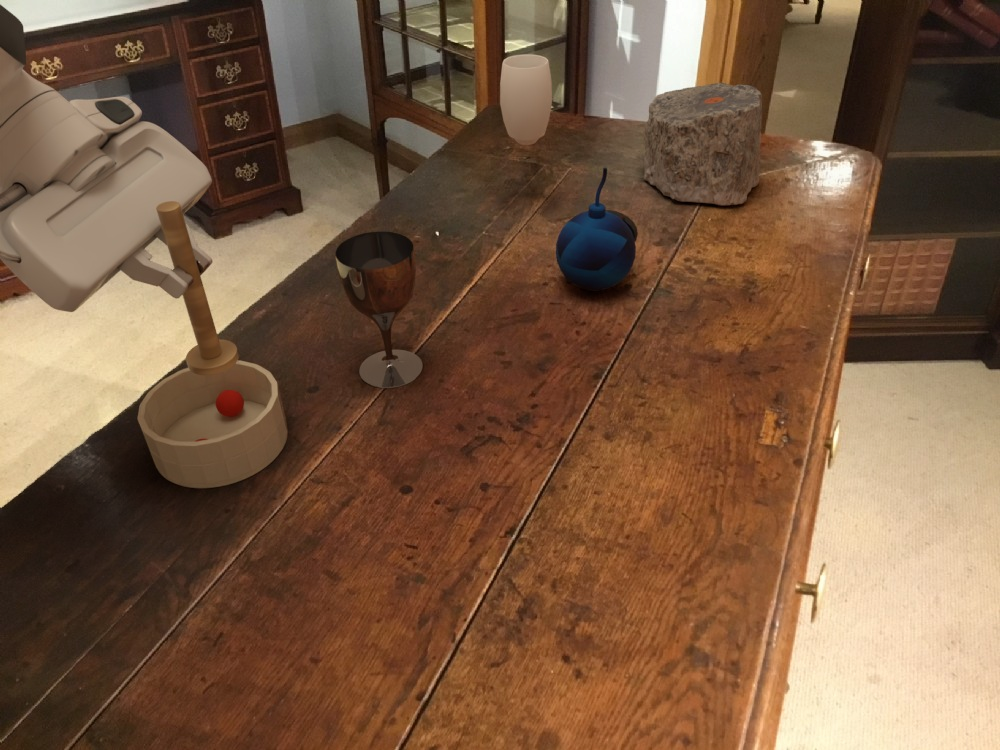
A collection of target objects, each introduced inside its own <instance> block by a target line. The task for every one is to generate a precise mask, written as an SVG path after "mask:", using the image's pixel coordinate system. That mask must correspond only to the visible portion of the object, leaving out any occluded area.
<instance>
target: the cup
mask: <svg viewBox="0 0 1000 750" xmlns="http://www.w3.org/2000/svg"><path fill="white" fill-rule="evenodd" d="M550 68H551V67H550V61H549V59H548V58H547V57H545V56H542V55H538V54H531V53H530V54H527V53H526V54H515V55H511V56H507V57H506V58H504V59H503V61H502V64H501V72H500V80H499V81H500V82H499V84H500V85H499V105H500V110H501V115H502V121H503V124H504V127H505V129H506V133H507V135H508V136H509V137H510V138H512V139H513V140H515V141H516V143H517V144H519V145H523V146H530V145H533V144H537V141H539V139H541V138H543V137H544V136H545V135H546V131H547V129H548V128H547V127H548V125H549V122H550V118H551V111H552V106H553V86H552V85H553V84H552V76H551V75H552V74H551V69H550Z"/></svg>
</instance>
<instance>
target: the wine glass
mask: <svg viewBox="0 0 1000 750" xmlns="http://www.w3.org/2000/svg"><path fill="white" fill-rule="evenodd" d="M335 263H336V269H337V272H338V278H339V280H340V283H341V286H342V289H343V291H344V294H345V296H346V299H347V300H348V301H349V303H350V305H351V306H352V307H353V308H354V309H355V310H357V312H359V313H361V314H362V315H364V316H365V317H366V318H368V319H370V320H371V321H373V323H375V324H376V326H377V327H378V329H379V332H380V335H381V338H382V343H383V346H384V350H382V351H379V352H376V353H374V354H372V355H370V356H368V357H367V358H365V360H363V362H361V364H360V365H359V369H358V373H359V377H360V379H361V380H362V381H363V382H364V383H365V384H367V385H369V386H372V387H375V388H381V389H393V388H399V387H402V386H403V387H404V386H405V385H408V384H410V383H412V382H413V381H415V380H416V379H418V377H419V376H420V375H422V372H423V369H424V363H423V361H422V359H421V357H420V356H418V355H417V354H416V353H414V352H412V351H408V350H406V349H405V350H404V349H393V346H392V345H393V344H392V329H393V328H392V327H393V325H394V322H395V320H396V318H397V317H398V315H400V313H401V312H402V311H403V310H404V309H405V308H406V307H407V305H408V304H409V302H410V301H411V299H412V297H413V294H414V289H415V284H416V270H417V268H416V254H415V246H414V243H413V242H412V240H411V239H410V238H409V237H407V236H406V235H403V234H401V233H398V232H392V231H369V232H363V233H360V234H357V235H356V234H355V235H354V236H351V237H349V238H347V239H345V240H344V241H342V242H341V243H340V244H339V245H338V247H336V250H335Z"/></svg>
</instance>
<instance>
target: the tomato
mask: <svg viewBox="0 0 1000 750" xmlns="http://www.w3.org/2000/svg"><path fill="white" fill-rule="evenodd" d="M243 407H244V400H243V397H242V396H241V394H240V393H238V392H237V391H234V390H226V391H223V392H222V393H220V394H219V395H218V397H217V399H216V408H217V410H218V412H219V413H220V414H222V415H223V416H226V417H233V416H236V415H238V414H239V413H240V412H241V411H242V409H243Z"/></svg>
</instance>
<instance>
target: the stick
mask: <svg viewBox="0 0 1000 750" xmlns="http://www.w3.org/2000/svg"><path fill="white" fill-rule="evenodd" d="M156 210H157V213H158V217H159V220H160V223H161V226H162V230H163V233H164V236H165V240H166V243H167V245H166V247H167V249H168V253H169V256H170V259H171V263H172V265H173V269H174V268H175V267H176V266H177V265H178V266H179V267H181V268H182V269H183V270H185V272H186V273H187V274H190V275H191V276H192V277H193V279H194V281H193V283H192V284H191V286H190V287H189V288H188V289H187V290H186V291H185V292H184V293H183V294H182V295H181V296H182V298H183V301H184V305H185V308H186V311H187V315H188V318H189V321H190V325H191V328H192V331H193V335H194V337H195V341H196V345H195V346H193V347H191V348H190V349H189V351H188V352H187V353H186V356H185V362H186V365H187V368H189V370H190V371H191V372H193V373H195V374H198V375H215V374H219V373H222V372H224V371H226V370H228V369H230V368H231V367H233V366H234V365H235V364H236V362H237V361H238V360H239V358H240V354H239V350H238V347H237V345H236V344H235V343H234V342H232V341H231V340H227V339H221V338H219V336H218V332H217V328H216V324H215V322H214V318H213V315H212V311H211V307H210V305H209V301H208V297H207V294H206V290H205V287H204V283H203V280H202V275H201V276H200V273H199V269H198V266H197V262H196V259H195V255H194V252H193V248H192V245H191V241H190V238H189V234H188V231H187V227H186V224H185V223H186V221H185V220H186V219H185V217H184V214H183V213H182V210H181V206H180V203H178V202H176V201H168V202H164V203H161V204H159V205H158V206H157V207H156Z"/></svg>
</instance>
